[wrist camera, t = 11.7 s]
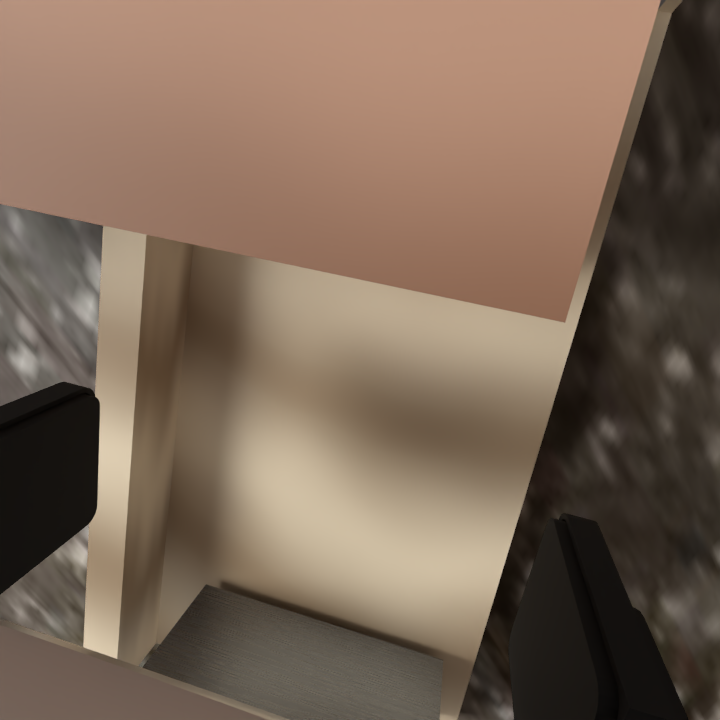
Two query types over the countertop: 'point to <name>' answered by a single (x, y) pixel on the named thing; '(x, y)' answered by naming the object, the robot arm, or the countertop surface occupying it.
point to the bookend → (295, 663)
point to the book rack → (323, 285)
